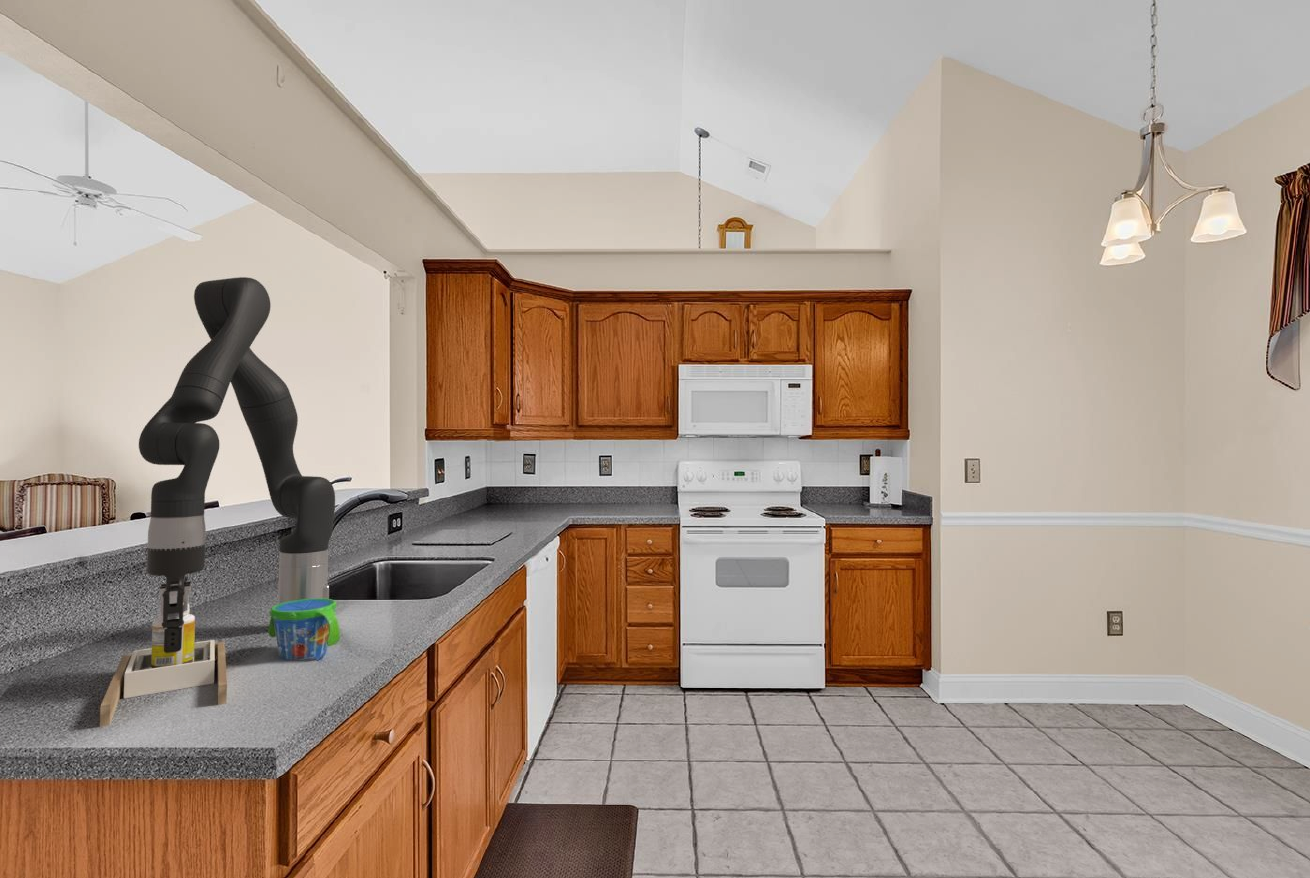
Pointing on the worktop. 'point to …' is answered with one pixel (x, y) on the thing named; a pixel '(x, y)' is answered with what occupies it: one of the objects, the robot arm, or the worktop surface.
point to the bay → (118, 679)
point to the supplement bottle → (188, 639)
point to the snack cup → (304, 628)
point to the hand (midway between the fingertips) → (173, 646)
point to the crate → (169, 672)
